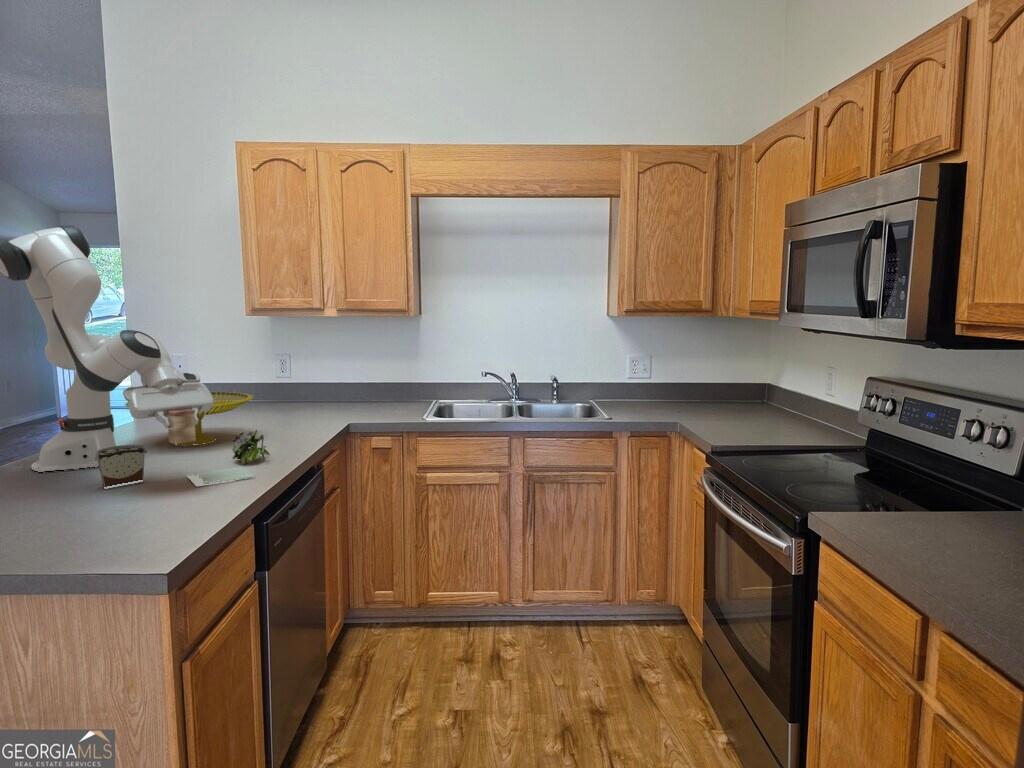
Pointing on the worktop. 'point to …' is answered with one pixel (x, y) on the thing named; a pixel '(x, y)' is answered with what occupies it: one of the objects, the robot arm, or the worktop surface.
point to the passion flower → (243, 446)
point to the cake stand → (216, 408)
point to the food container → (121, 464)
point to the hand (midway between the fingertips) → (182, 424)
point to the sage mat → (224, 475)
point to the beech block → (181, 426)
